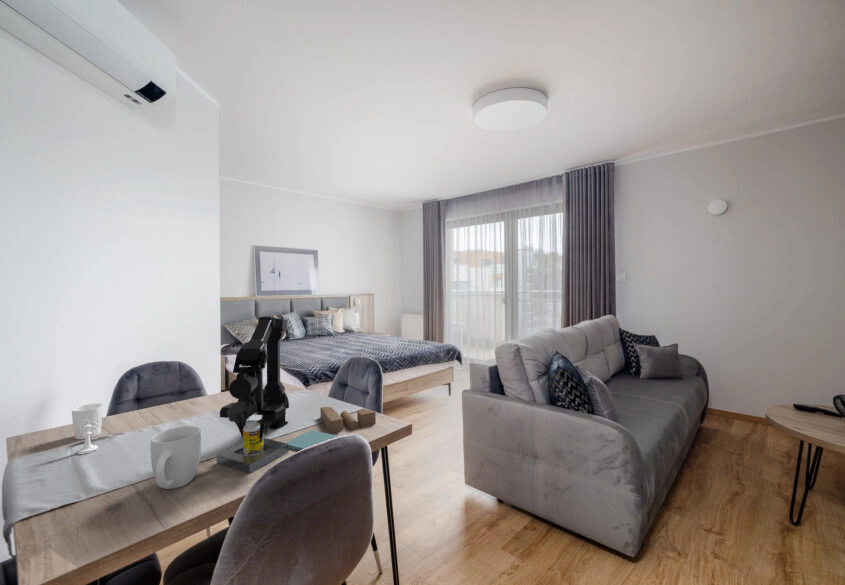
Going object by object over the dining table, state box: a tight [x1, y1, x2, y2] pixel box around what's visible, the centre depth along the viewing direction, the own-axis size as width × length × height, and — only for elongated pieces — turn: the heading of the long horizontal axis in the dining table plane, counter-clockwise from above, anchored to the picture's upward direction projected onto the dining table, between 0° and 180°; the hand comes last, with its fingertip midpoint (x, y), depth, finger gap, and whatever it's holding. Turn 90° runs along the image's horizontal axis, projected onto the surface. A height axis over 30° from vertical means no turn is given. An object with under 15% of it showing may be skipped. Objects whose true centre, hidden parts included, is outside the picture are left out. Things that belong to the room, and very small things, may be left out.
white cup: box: [71, 403, 103, 440], centre depth 125 cm, size 8×8×10 cm
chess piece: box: [76, 419, 99, 453], centre depth 113 cm, size 5×5×10 cm
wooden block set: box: [320, 406, 377, 434], centre depth 137 cm, size 17×6×18 cm
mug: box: [150, 425, 202, 490], centre depth 92 cm, size 15×11×13 cm
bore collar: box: [216, 437, 290, 474], centre depth 108 cm, size 14×14×2 cm
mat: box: [285, 429, 338, 451], centre depth 118 cm, size 12×12×1 cm
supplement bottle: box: [242, 416, 264, 457], centre depth 108 cm, size 6×6×10 cm
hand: (253, 439), depth 108 cm, fingers closed on supplement bottle, 5 cm apart
